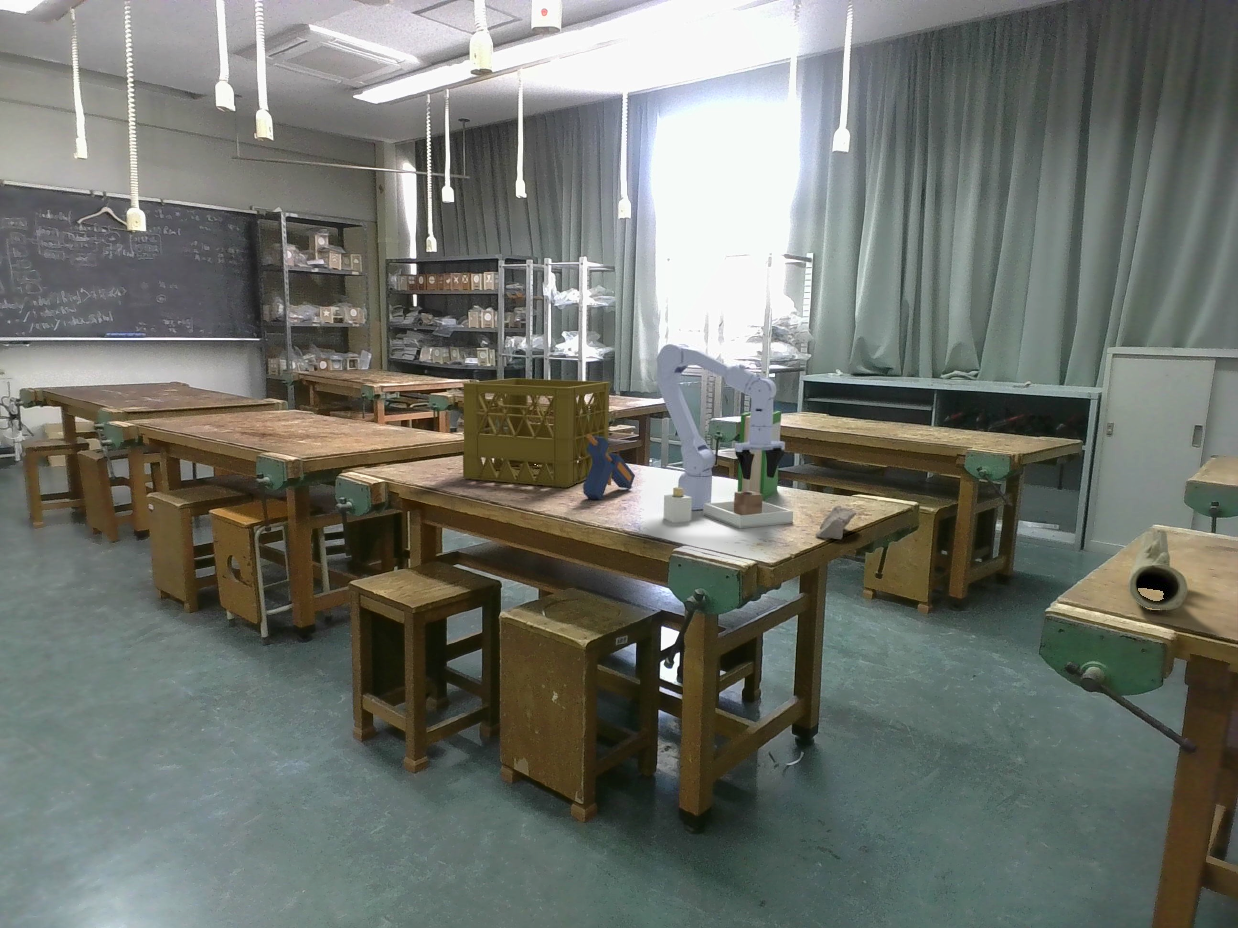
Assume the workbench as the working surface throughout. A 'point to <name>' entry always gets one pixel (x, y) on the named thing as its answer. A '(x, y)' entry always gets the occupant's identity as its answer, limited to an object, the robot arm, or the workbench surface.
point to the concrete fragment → (835, 523)
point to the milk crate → (533, 430)
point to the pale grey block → (677, 506)
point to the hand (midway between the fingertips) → (758, 478)
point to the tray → (766, 518)
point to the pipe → (1156, 574)
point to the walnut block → (747, 503)
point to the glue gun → (605, 469)
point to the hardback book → (759, 460)
